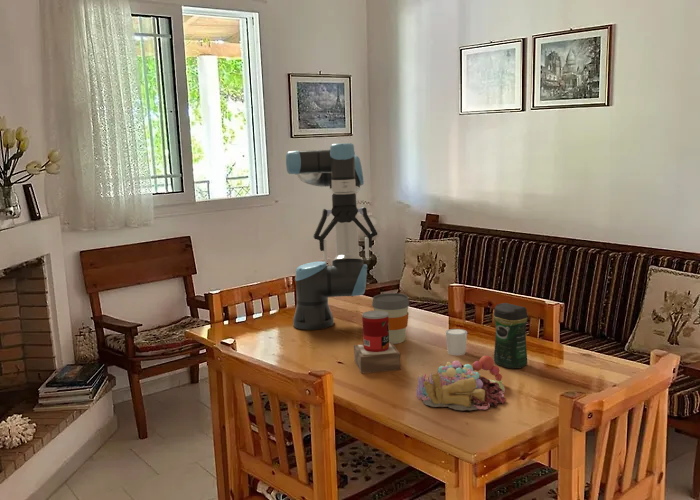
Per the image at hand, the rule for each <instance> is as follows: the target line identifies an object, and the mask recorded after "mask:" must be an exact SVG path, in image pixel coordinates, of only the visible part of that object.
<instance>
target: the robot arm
mask: <svg viewBox="0 0 700 500" xmlns="http://www.w3.org/2000/svg"><path fill="white" fill-rule="evenodd" d="M329 147H330V149H317V150H313V149H312V150H291V151H287V152H286V154H285V165H286V172H287V173H288V174H289V175H297V177H298V180H300V181H301V182H303V183H305V184H307V185H310V186H315V187H321V188H322V187H329V192H330V193H331V194H332V195H331V201H332V202H331V203H332V208H331V209H326V208H323V209H322V212H321V213H322V216H321V218H320V220H319V222H318V225H317V227H316V229H315V231H314V233H313V238H314V240H316V241H318V243H319V250H320V252H322V253H323V254H322V255H323V261H322V260H321V261H311V262H308V263H304V264H300V265H298V266H297V268H295V269H296V270H295V278H294V281H295V289H296V290H295V291H296V292H295V293H296V307H295V312H294V315H293V319H292V323H293V327H294V328H295V329H298V330H303V331H304V330H307V331H308V330H309V331H312V330H313V331H314V330H315V331H316V330H323V329H326V328H329V327H332V326H333V325H334V316H333V313H332V311H331V308H330V305H329V299H328V298H332V297H334V298H335V297H354V296H356V297H357V296H358V297H359V296H362V295H364V294H365V292H366V285H367V275H368V265H367V264H366V263H364V259H363V258H362V257H361V256H360V250H359V249H360V247H359V230H361V232H363V234H365V236H366V237H364V253H365V254H364V255H365V257H364V258H365V259H367V260H368V259H370V249H371V248H373V237H377V236H378V232H377V230H376V228H375V225H373V222H372V221H371V218H370V217H369V215H368V211H367V208H366V207H365V206H362V207H359V208H358V201H357V200H358V199H357V194H358V193H359V192H360V191H361V187H362V186H364V182H365V181H364V174H363V169H362V163H361V160H360V157H359V156H358V155H356V151H355V145H354V144H353V143H351V142H350V143H349V142H347V143H345V142H344V143H332V144H331V145H330V146H329ZM358 213H359V214H360V215H362V217H363V219H364V220H365V223H366V225H367V226H368V228H369V230H370V232H369V230H368V229H366V228H365V226H364V225H363V224H362V223H361V222H360V221H359V219H358ZM330 215H332V216H333V218H332V219H331V221H330V223H329V224H328V225H327V227H326V228H325V229H324V230H323V228H324V225H325V223H326V221H327V218H328V217H329V216H330ZM333 229H334V232H335V236H334V237H335V257H334V258H333V259H332V261H331V263H332V265H328V264H327V262H328V257H327V256H328V253H327V240H326V237H327V236H328V235H329V234H330V233H331V231H332V230H333ZM322 230H323V232H322ZM321 232H322V233H321Z"/></svg>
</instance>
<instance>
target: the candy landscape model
mask: <svg viewBox="0 0 700 500" xmlns="http://www.w3.org/2000/svg"><path fill="white" fill-rule="evenodd" d="M481 370H483V371H485V372H486V371H489V373H490V375H491V376H495V377H494V378H495V379H490V378H486V377H483V376H480V372H478V371H481ZM437 372H438V373H434V374H433V372H432V373H430V376H428V378H427V373H425V374H424V376H423V375H422V373H419V376H418V377H417V386H416V397H418V400H419V401H420V400H422V403H423V404H424V405H426V406H429V407H432V408H437V407H441V408H444V407H446V408H447V407H448V408H449V409H453V410H455V411H473V410H475V411H476V410H484V411H485V410H488V409H490V407H493V408H498V403H499V404H502V405H504V403H505V401H506V397H505V392H506V387H505V385H504V384H503V374H502V373H500V372H501V370H500V367H499V366H498V365H495V362H494V358H493V357H491V356H490V355H483V356H481V357H480V358H479V360H476V361H474V362H472V364H469V363H466V364H464V365H463V364H462V362H460V361H459V360H458V359H457V360H453V361H447V362H446V364H445V366H444V365H440V366H439V367H438V369H437Z"/></svg>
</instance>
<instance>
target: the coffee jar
mask: <svg viewBox="0 0 700 500" xmlns="http://www.w3.org/2000/svg"><path fill="white" fill-rule="evenodd" d="M493 311H494V312H493V319H494V324H495V339H494V350H493V351H494V352H493V353H494V354H493V361H494V364H497V366H498V365H499V366H501V367H504V368H506V369H507V368H508V369H521V367H522V368H524V367H525V366H527V365H528V351H527V335H526V326H527V322H528V311H527V308H526V307H525V306H520V305H516V304H511V303H507V302H502V303H498V304H496V305H495V307H494V310H493Z"/></svg>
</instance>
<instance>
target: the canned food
mask: <svg viewBox="0 0 700 500" xmlns="http://www.w3.org/2000/svg"><path fill="white" fill-rule="evenodd" d="M361 316H362V321H361V322H362V343H363V344H362V345H363V346H364V349H365V350H367V351H370V352H382V351H386V350H387V349H388V348H389V316H388V313H387V312H385V311H377V310H375V311H374V310H368V311H365V312H362V315H361Z"/></svg>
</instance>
